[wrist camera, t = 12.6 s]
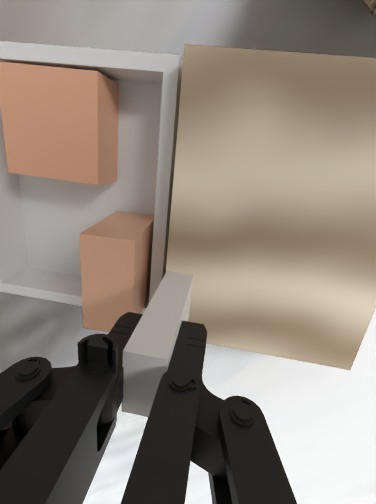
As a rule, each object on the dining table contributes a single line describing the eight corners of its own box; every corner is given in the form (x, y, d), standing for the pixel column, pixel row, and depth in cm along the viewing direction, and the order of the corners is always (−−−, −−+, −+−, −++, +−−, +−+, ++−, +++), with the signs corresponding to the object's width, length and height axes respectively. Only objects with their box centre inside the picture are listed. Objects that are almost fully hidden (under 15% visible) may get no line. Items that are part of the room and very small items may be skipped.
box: (0, 58, 18) (-50, 37, 15) (189, 73, 17) (179, 54, 14) (25, 271, 24) (-7, 290, 21) (169, 296, 23) (158, 320, 19)
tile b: (157, 215, 20) (117, 210, 20) (135, 240, 14) (79, 233, 14) (152, 288, 22) (116, 283, 22) (131, 334, 16) (83, 327, 16)
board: (197, 74, 17) (184, 44, 12) (402, 91, 16) (474, 65, 11) (175, 297, 23) (160, 334, 18) (324, 322, 21) (350, 370, 17)
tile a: (97, 70, 14) (119, 84, 17) (-5, 61, 15) (32, 75, 18) (97, 185, 17) (117, 180, 19) (7, 172, 17) (39, 169, 20)
